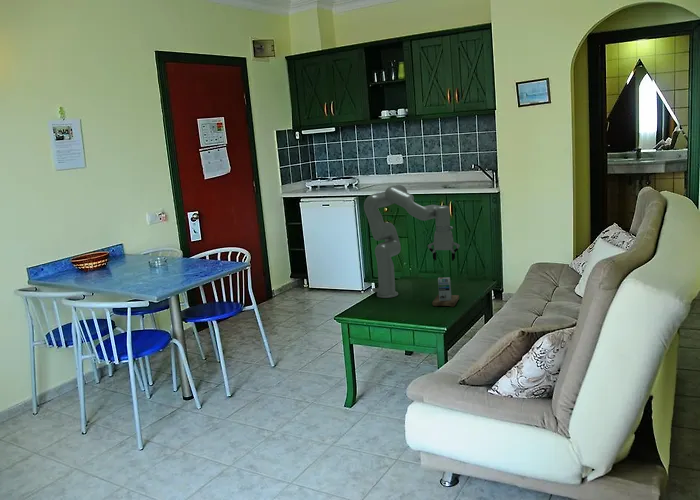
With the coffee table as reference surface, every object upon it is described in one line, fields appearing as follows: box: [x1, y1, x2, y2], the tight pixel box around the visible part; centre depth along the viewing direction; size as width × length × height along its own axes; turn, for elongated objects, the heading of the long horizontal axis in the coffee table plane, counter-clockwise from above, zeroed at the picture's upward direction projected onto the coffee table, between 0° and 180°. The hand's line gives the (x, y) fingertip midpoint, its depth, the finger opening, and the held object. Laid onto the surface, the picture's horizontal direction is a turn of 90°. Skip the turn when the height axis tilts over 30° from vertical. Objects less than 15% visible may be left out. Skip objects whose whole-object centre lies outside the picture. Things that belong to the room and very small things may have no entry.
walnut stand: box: [431, 294, 460, 308], centre depth 333 cm, size 12×15×2 cm
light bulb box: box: [437, 276, 452, 301], centre depth 332 cm, size 11×7×11 cm, turn 172°
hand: (444, 260), depth 328 cm, fingers open, 9 cm apart
